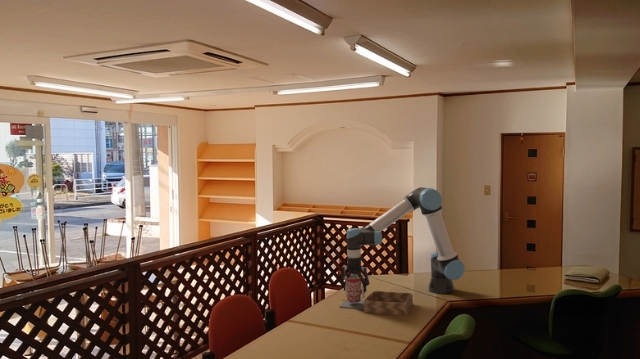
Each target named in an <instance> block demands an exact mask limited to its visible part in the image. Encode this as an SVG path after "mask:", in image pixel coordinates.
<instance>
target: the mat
mask: <svg viewBox="0 0 640 359" xmlns="http://www.w3.org/2000/svg"><path fill="white" fill-rule="evenodd" d="M364 300H365V299H361V300H360V302H356V303H352V302H348V301H347V299H345V301H344V302H342V303H341V304H340V305H339V308H341V309H342V308H343V309H352V310H353V309H355V310H364Z"/></svg>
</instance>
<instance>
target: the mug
mask: <svg viewBox="0 0 640 359" xmlns="http://www.w3.org/2000/svg"><path fill="white" fill-rule="evenodd" d="M361 278H362V277H361ZM361 278H359V276H358V275H357V274H351V275H350V277H349V278H347V275H345V277H344V279H346V290H347V297H346V300H347V301H348V302H352V303H356V302H360V300H362V282H361ZM363 278H364V280H365V277H363ZM365 282H366V281H365Z"/></svg>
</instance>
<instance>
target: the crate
mask: <svg viewBox="0 0 640 359" xmlns="http://www.w3.org/2000/svg"><path fill="white" fill-rule="evenodd" d="M413 298H414V297H413V292H401V291H400V292H399V291H385V290H384V291H382V290H372V291H371V292H370V293H369V295H367V297H365V298H364V299H363V300H364V309H363V312H364V313H371V314H381V315H382V314H384V315H392V316H393V315H396V316H405V317H406V316H407V315H408V313H409V311H410V309H411V308H412V306H413V303H414V299H413Z"/></svg>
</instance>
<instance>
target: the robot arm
mask: <svg viewBox="0 0 640 359" xmlns="http://www.w3.org/2000/svg"><path fill="white" fill-rule="evenodd" d="M442 203H443V198H442V195H441V193H440V192H439V190H436V189H434V188H431V187H423V186H422V187H421V186H420V187H417V188H416V189H414V190H412V191H411V192H410V193H408V194H407V195H405V196H404V197H403V198H402V200H401V201H400V202H398V203H397V204H395V205H394V206H393V207H391V208H389V209H388V210H387V211H385V212H384V213H382V214H381V215H380V216H378V217H377V218H376V219H374V220H373V221H371V222H370V223H369V224H367V225H366V226H362V227H360V228H357V227H356V228H354V227H353V228H348V229H347V230H346V255H347V258H346V259H347V262H346V263H347V265H343V266H342V267H341V270H342V271H341V277H340V281H339V282H340V285H343V291H345V298H347V290H346V278H345V276H347V278H349V277H350V275H358V276H359V278H361V277H362V278H361V289H362V294H361V300H365V299H366V294H365V293H367V287H368V286H369V285H370V280H369V275H368V267H367V266H362V257H361V256H362V248H361V246H378V245H382V243H383V235H382V231H384V230H385V229H387V228H388V227H389V226H391V225H393V224H394V223H395V222H397V221H398V220H400V219H401V218H402V217H404V216H406V214H407V215H408V213H409V212H414V211H415V210H418V209H420V212H421V215H423V216H424V217H425V219H426V221H427V224H428V228H429V230H430V233H431V236H432V239H433V241H434V245H435V248H436V252H432V253H431V254H430V272H431V273H430V280H429V284H428V291H429V292H431V293H435V294H442V295H443V294H444V295H445V294H452V293H454V292H455V290H456V289H455V284H454V282H453V281H456V280H457V281H458V280H460V278H462V277H463V275H464V274H465V271H466V270H465V269H466V268H465V265H464V263H463V261H461V260H460V258H459V255H458V252H456V251H454V248H453V246H452V242H451V240H450V236H449V234H448V231H447V227H446V224H445V221H444V218H443V215H442V210H443V206H442ZM346 270H347V271H348V273H347V272H346ZM361 270H362V272H363V275H362V272H361ZM346 273H347V275H346ZM363 276H364V277H363ZM364 278H365V280H364ZM365 281H366V282H365Z"/></svg>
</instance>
